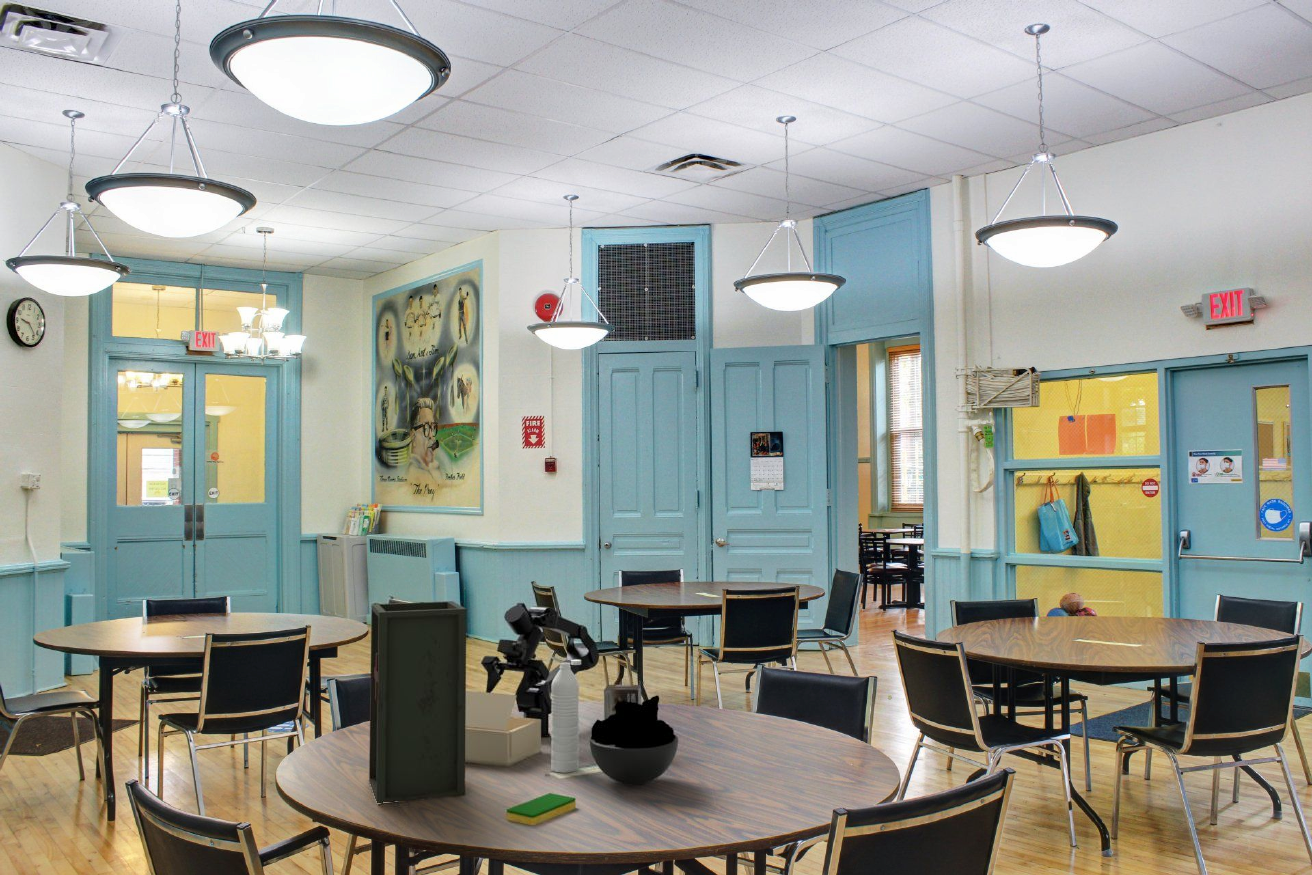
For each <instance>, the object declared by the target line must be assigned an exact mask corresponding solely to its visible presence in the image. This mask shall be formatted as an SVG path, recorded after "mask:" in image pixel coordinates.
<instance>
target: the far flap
mask: <svg viewBox="0 0 1312 875" xmlns="http://www.w3.org/2000/svg"><path fill="white" fill-rule="evenodd" d="M516 697H517V695H515V694H508V693H507V694H506V693H497V692H496V693H495V692H491V693H486V691H485V692H483V691H482V692H481V691H473V690H471V691H470V690H466V720H465V727H473V728H483V729H493V730H503V731H506V728H507V725H508V721H509V718H510V717H511V715H512V712H513V708H514V705H515V703H516Z"/></svg>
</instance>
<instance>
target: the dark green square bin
mask: <svg viewBox="0 0 1312 875" xmlns="http://www.w3.org/2000/svg"><path fill="white" fill-rule="evenodd" d="M370 607H371V610H370V611H371V615H370V616H371V617H370V618H371V619H370V620H371V622H370V623H371V625H370V626H371V627H370V628H371V630H370V687H369V688H370V696H369V701H370V702H369V706H370V707H369V756H368V757H369V758H368V760H369V761H368V762H369V768H368V770H369V773H368V782H370V783H369V785H370V784H371V786H370V788H371V787H372V789H371V791H372V790H373V792H372V794H373V793H374V795H373V797H374V796H375V798H374V800H375V799H376V801H377V803H383V802H395V801H406V802H414V801H422V799H425V800H434V799H442V798H443V797H444V798H452V797H462V796H466V762H465V720H466V691H467V676H466V675H467V608H466V607H464V606H462V605H460V604H458V603H456V602H455V601H453V600H451V601H449V600H448V601H447V600H446V601H421V602H419V601H418V602H397V603H396V602H395V603H392V602H391V603H372V604H371V606H370ZM376 801H375V802H376ZM377 803H376V804H377Z"/></svg>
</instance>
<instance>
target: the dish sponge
mask: <svg viewBox="0 0 1312 875" xmlns="http://www.w3.org/2000/svg"><path fill="white" fill-rule="evenodd" d="M576 800H577V799H576V797H572V796H567V795H562V794H558V793H557V794H556V793H553V792H552V793H551V792H550V793H546V794H544V795H540V796H538V797H535V798H533V799H530V800H529V801H525V802H522V803H520V804H518V805H515V806H512V807H509V808H508V809H506V820H508V821H512V822H515V823H516V822H517V823H521V824H525V825H529V826H535V825H538V824H540V823H543V822H544V821H547V820H550V819H552V818H554V817H557V816H560V815H562V814H564V813H567V812H569V811H571V810H574V809H577V808H576V805H577V804H576V802H577V801H576Z"/></svg>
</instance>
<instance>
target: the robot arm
mask: <svg viewBox="0 0 1312 875" xmlns="http://www.w3.org/2000/svg"><path fill="white" fill-rule="evenodd" d="M503 618H504V620H505V622H506V623H507V625H508V627H510V629H511V630H512V632H513V634H515V635H517V636H518V637H517V639H516V640H512V639H501V638H500V639H499V642H498V645H497V650H496V652H498V653H501V654H502V655H503V656H502V657H503V659H504V660H506V661H501V660H500V658H499V656H496V655H495V656H494V655H485V656H483V658H482V660H481V662H480V664H481V666H483V668H484V669H485V671H486V672H487V681H486V689H485V693H493V691H494V689H495V688H496V687H497V685H498V684H499V682H500V681H501V680H502V675H503V674H504V673H505V671H512V672H518V673H523V676H522V678H521V680H520V682H519V684H518V687H517V688H516V691H515V694H514V695H517V697H516V700H515V703H516V706H517V711H518V712H519V713H523V716H522V718H531V719H541V738H544V737H546V738H547V737H551V733H550V731H549V730H550V729H549V727H550V726H549V724H550V720H549V718H550V717H549V716H550V715H552V690H551V685H552V681H553V679H554V678H555V676H556V675H557V673H558V671H559V670H560V664H559V665H557V666H556V667H554V668H553V669H552V670H551V671H550V670H549V668H548V667H547V665H546V664H545V663H544V660H543V659H536V657H537V655H536V652H537V649H538V647H539V645H540V643H546V642H547V638H546V636H545V632H544V631H542V629H548V630H551V631H554V632H556V633H558V634H561V635H563V636H565V637H567V643H566V646H565V650H566V652H567V653H566V659H565V660H564V661H563V662H561V663H570V666H571V667H570V669H571V671H572V672H573V674H574V675H575V676H576V674H578V673H579V672H583V671H588V670H591V669H593V668H595V667H596V666H597V664H598V663H599V660H600V653H599V650H598V647H597V643H596V642H595V640H594V639H593V637H591V635H590V634H589V632H588V628H587V627H586V626H585V625H584V624H579V623H576V622H574V621H571V620H570V619H567V618H565V617H562V616H560V615H559V612H558V611H557V610H555V608H553V607H549V606H536V605H535V606H532V605H531V606H530V608H529V609H528V608H527V605H526V604H525V603H524V602H516V605H514V606H512V607H510V608H509V609H507V610H506V612H505V613H504V617H503ZM575 639H576V640H580V642H581V643H582V646H579V645H576V644H575ZM571 660H581V664H580V665H571Z"/></svg>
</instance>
